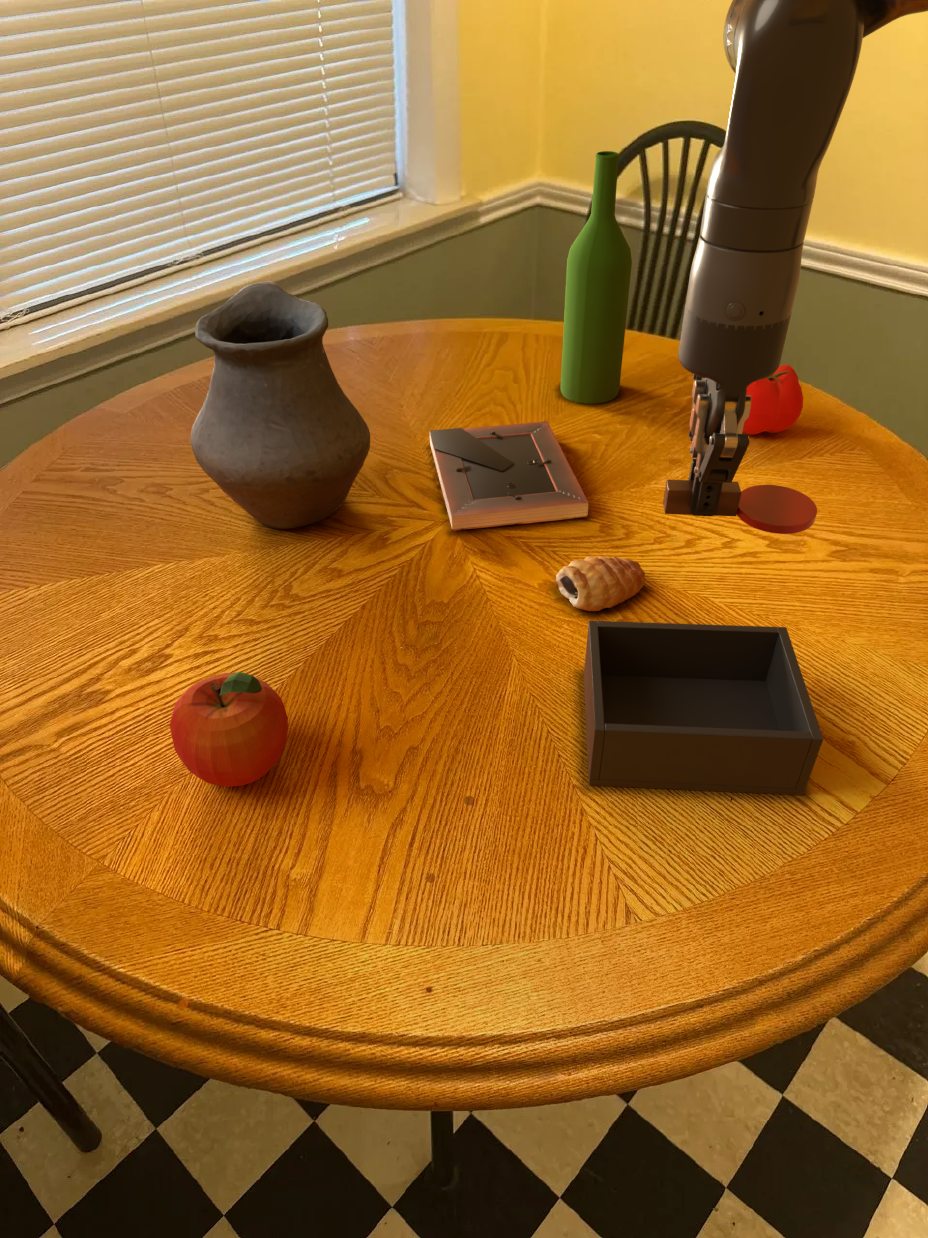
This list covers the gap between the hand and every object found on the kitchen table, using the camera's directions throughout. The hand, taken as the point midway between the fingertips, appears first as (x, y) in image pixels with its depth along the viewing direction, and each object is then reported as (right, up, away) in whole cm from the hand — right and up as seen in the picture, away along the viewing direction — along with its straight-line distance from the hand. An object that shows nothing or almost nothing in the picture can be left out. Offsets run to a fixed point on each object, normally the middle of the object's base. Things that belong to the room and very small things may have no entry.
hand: (700, 505), depth 74 cm
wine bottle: (-1, +25, +58) cm, 63 cm away
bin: (0, -20, +3) cm, 20 cm away
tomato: (+21, +17, +48) cm, 55 cm away
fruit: (-40, -22, +2) cm, 46 cm away
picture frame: (-15, +8, +38) cm, 41 cm away
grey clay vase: (-42, +4, +34) cm, 54 cm away
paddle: (+3, 0, 0) cm, 3 cm away
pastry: (-6, -7, +19) cm, 21 cm away
